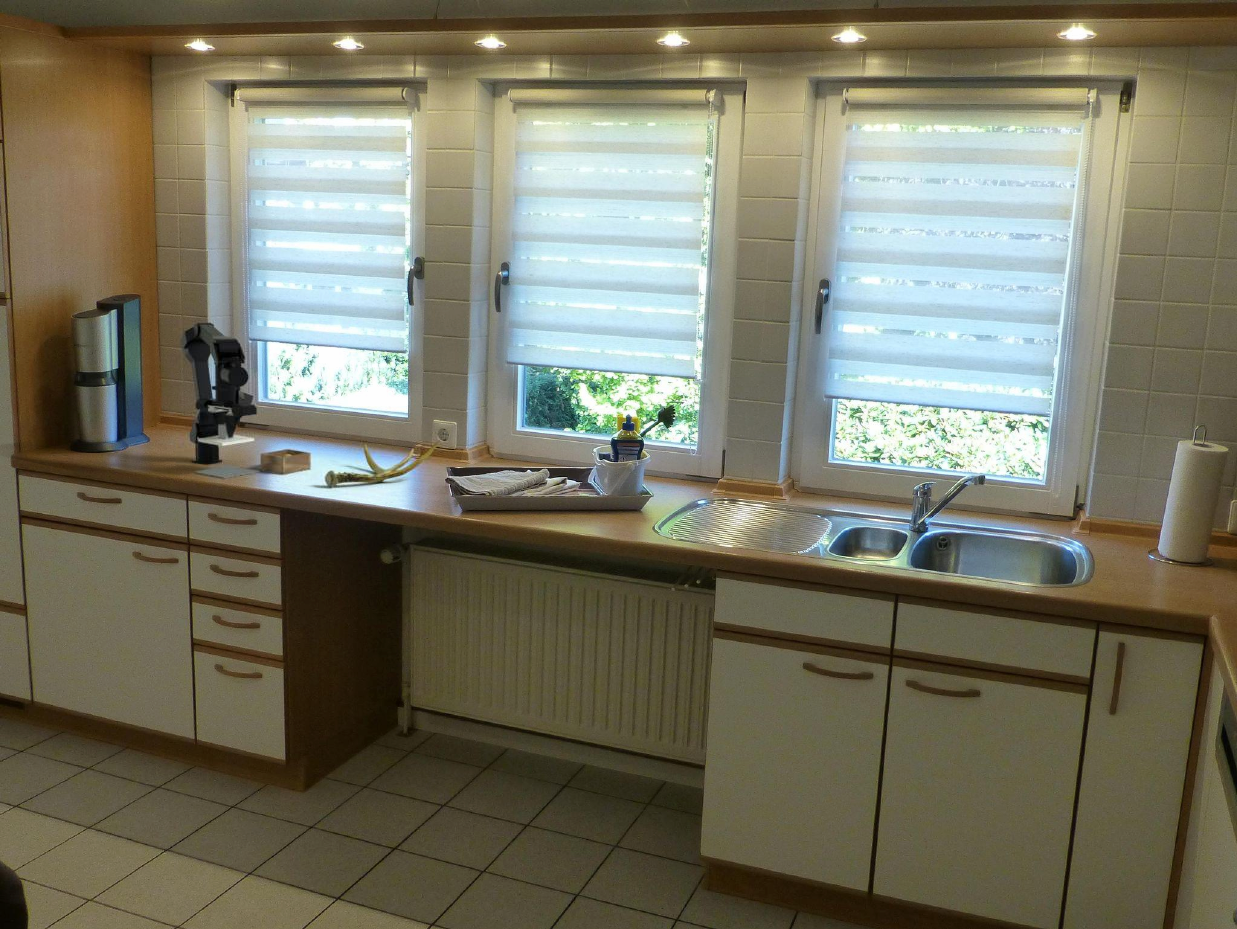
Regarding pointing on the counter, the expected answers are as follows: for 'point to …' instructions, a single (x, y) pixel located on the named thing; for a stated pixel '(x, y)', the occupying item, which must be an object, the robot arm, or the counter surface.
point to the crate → (285, 461)
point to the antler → (376, 470)
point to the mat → (226, 471)
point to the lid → (225, 438)
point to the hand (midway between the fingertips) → (226, 436)
